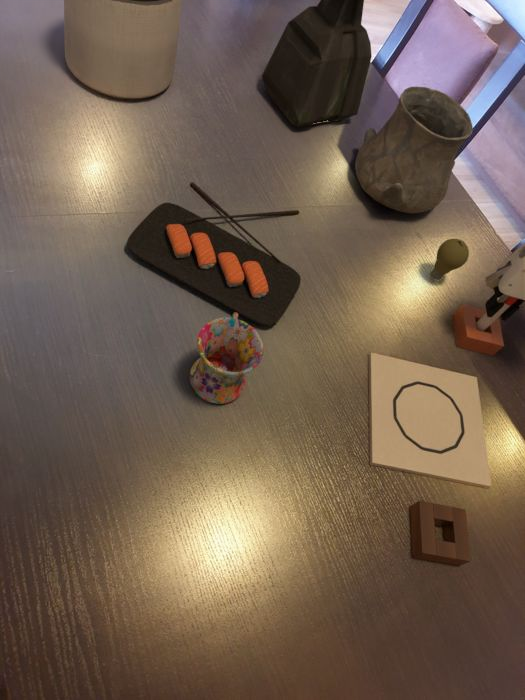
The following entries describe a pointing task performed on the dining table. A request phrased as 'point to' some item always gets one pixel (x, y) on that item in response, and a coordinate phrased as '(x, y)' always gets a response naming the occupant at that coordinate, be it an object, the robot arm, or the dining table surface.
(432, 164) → the vessel
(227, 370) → the mug
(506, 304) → the marker
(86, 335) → the dining table surface
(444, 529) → the marker stand
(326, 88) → the bottle
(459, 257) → the light bulb
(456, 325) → the pen holder
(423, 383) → the board
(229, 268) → the sushi plate
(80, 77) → the planter
